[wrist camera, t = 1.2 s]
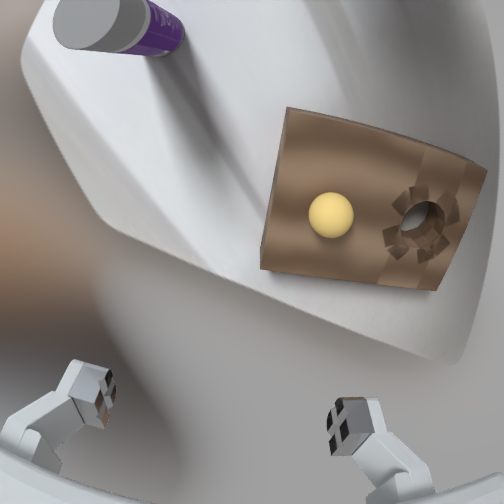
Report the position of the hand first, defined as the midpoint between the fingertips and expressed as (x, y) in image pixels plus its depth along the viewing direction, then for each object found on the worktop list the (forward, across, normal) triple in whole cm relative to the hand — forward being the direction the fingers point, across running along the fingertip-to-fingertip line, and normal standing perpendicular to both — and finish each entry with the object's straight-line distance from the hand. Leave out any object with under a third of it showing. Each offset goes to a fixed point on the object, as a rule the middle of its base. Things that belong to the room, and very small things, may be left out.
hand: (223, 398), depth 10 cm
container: (+25, +10, -14) cm, 30 cm away
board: (+25, -14, 0) cm, 29 cm away
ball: (+19, -8, 0) cm, 21 cm away
